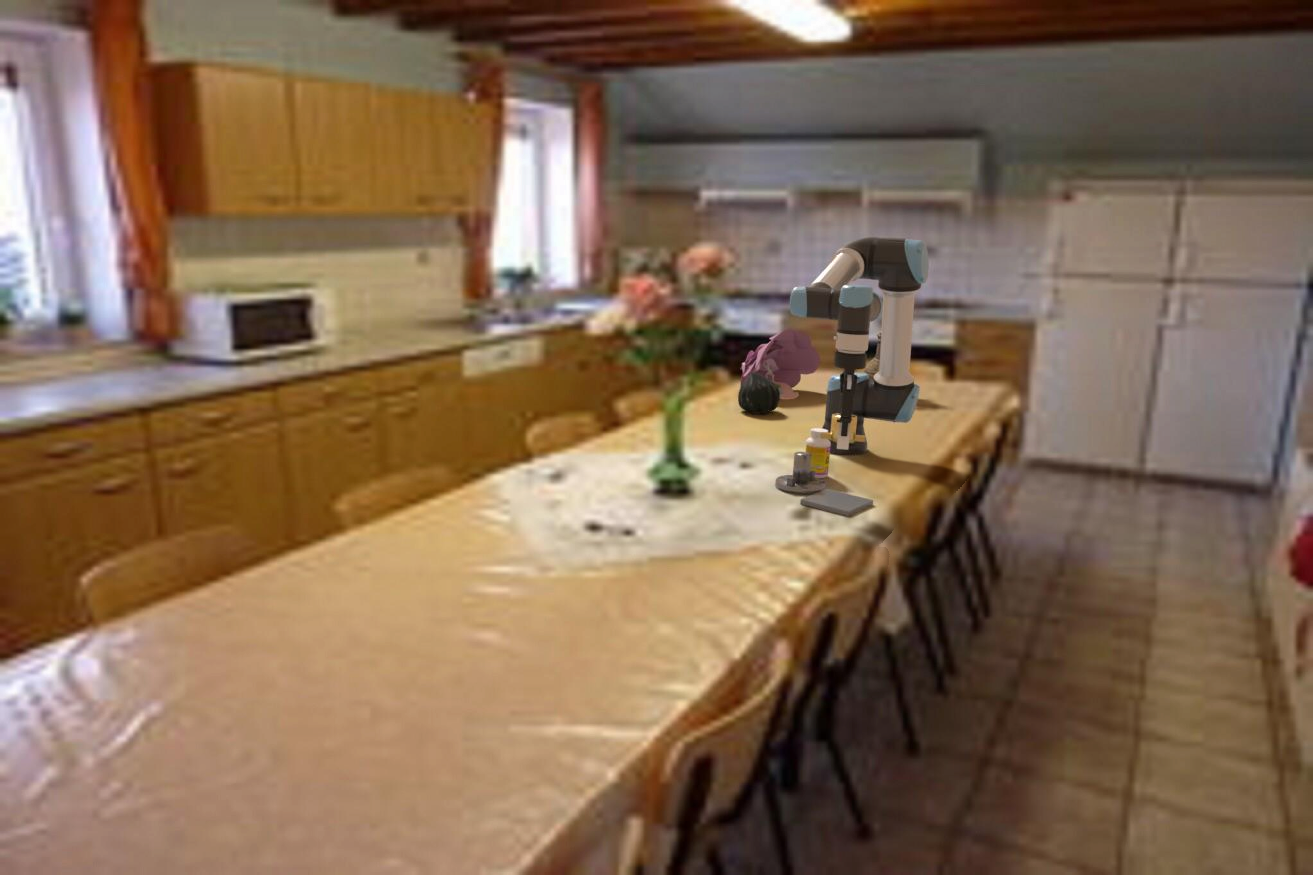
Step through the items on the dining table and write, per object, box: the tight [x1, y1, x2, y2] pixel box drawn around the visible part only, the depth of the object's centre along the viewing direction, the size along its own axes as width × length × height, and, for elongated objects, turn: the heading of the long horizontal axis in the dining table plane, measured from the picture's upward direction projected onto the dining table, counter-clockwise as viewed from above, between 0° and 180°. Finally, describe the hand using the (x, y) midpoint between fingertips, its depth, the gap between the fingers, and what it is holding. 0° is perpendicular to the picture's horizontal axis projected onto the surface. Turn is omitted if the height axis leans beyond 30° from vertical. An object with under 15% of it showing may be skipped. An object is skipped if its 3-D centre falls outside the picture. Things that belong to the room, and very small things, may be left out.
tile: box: [800, 488, 874, 517], centre depth 233 cm, size 13×13×1 cm
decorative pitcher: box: [863, 332, 881, 380], centre depth 372 cm, size 22×18×25 cm
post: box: [774, 451, 827, 496], centre depth 245 cm, size 13×13×9 cm
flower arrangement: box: [739, 328, 821, 400], centre depth 367 cm, size 35×24×28 cm
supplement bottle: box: [804, 427, 831, 479], centre depth 256 cm, size 7×7×13 cm
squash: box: [737, 372, 781, 415], centre depth 335 cm, size 14×15×15 cm
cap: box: [820, 413, 866, 443], centre depth 228 cm, size 11×6×6 cm, turn 81°
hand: (842, 445), depth 229 cm, fingers closed on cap, 6 cm apart
